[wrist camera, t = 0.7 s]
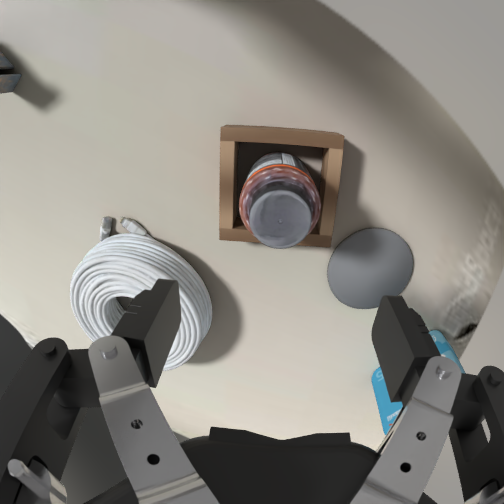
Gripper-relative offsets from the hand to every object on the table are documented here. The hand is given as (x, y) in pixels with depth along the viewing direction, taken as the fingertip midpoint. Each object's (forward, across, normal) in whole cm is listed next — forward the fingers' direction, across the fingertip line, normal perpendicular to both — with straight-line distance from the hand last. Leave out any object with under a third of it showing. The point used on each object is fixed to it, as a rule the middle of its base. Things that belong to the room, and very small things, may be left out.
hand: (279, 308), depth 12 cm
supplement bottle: (+20, 0, 0) cm, 20 cm away
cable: (+21, +15, +15) cm, 29 cm away
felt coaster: (+20, -11, +9) cm, 25 cm away
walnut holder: (+20, 0, 0) cm, 20 cm away
